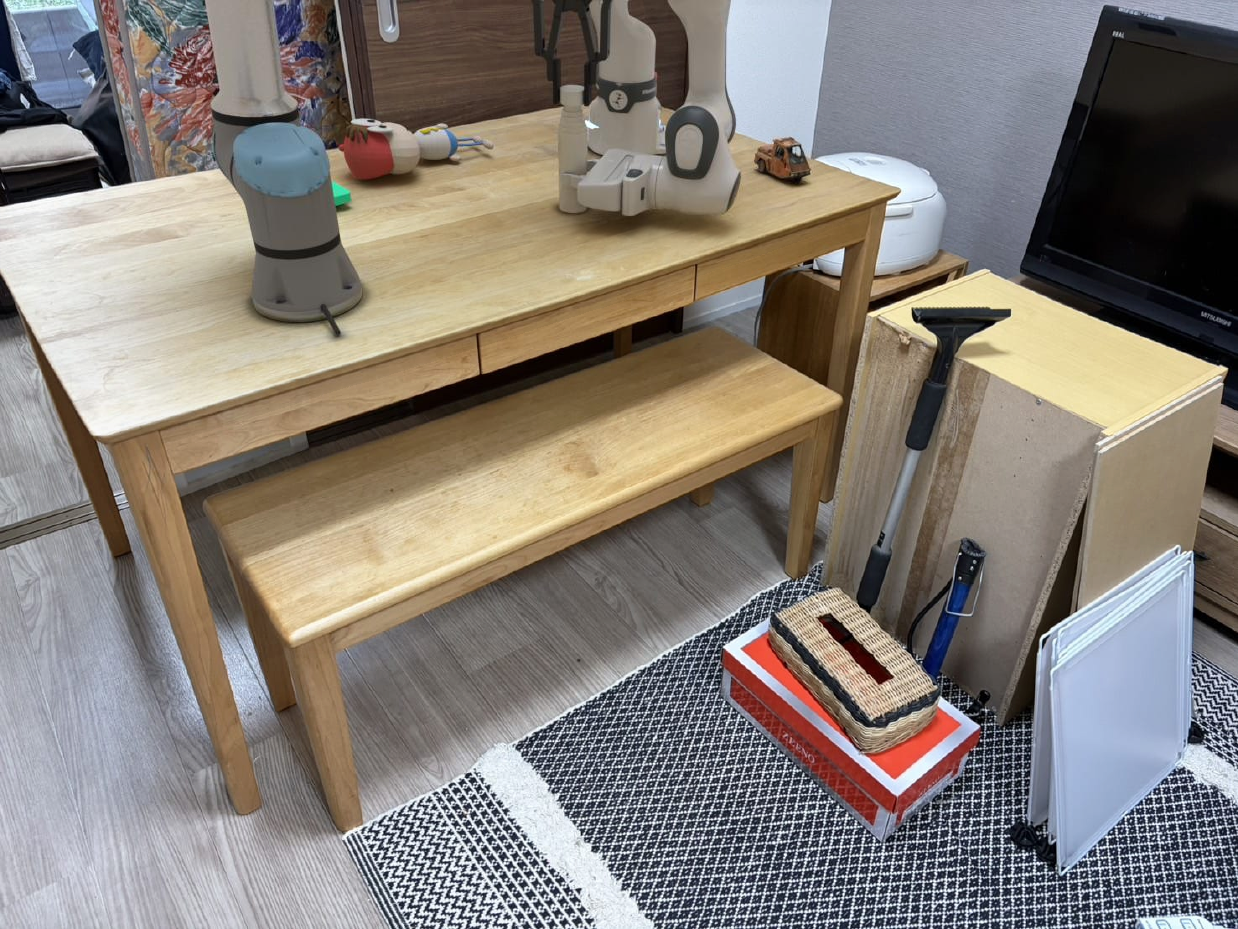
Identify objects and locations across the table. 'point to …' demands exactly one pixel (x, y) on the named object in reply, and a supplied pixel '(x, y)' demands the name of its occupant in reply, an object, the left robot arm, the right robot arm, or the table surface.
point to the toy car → (782, 160)
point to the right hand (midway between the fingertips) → (568, 171)
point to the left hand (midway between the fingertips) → (572, 102)
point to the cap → (572, 95)
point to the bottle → (571, 154)
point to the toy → (397, 147)
